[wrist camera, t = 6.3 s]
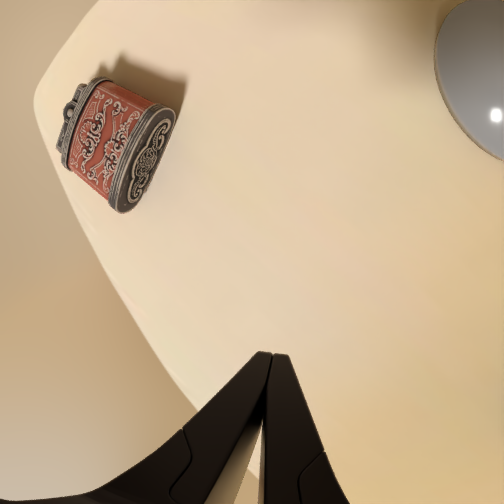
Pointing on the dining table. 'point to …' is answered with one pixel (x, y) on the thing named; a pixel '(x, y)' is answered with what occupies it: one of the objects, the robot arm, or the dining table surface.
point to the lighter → (114, 140)
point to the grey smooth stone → (474, 71)
